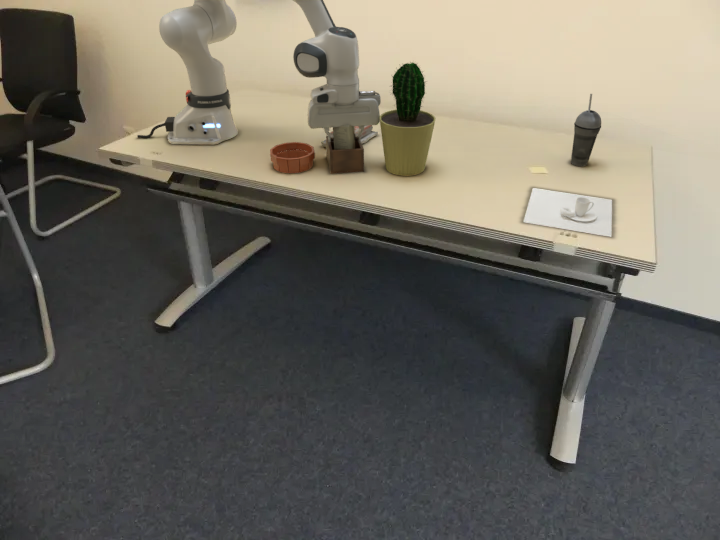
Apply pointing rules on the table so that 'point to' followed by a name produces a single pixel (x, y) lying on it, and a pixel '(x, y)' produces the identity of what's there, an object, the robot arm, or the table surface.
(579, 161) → the beverage cup
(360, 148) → the holder
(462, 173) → the table surface
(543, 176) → the table surface
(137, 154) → the table surface
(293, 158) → the bowl
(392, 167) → the potted cactus
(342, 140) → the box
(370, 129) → the packaged product
